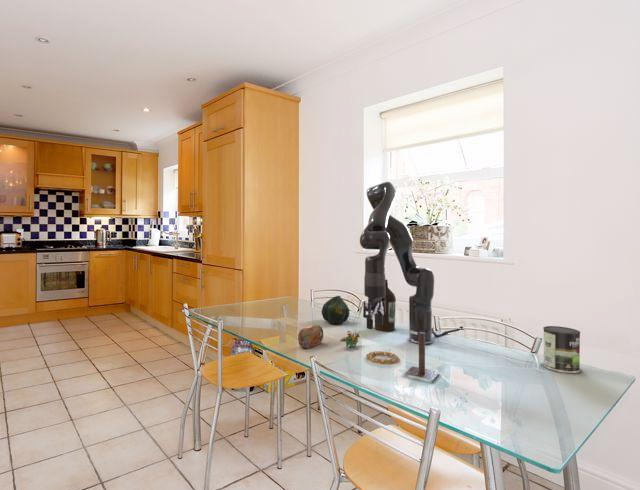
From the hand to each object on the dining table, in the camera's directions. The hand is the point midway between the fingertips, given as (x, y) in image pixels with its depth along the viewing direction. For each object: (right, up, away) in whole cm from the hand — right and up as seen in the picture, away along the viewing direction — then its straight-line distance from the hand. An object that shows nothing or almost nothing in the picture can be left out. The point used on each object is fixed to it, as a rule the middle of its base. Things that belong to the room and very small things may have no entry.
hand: (374, 326), depth 147 cm
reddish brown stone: (-20, -14, +25) cm, 35 cm away
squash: (+1, -13, +65) cm, 66 cm away
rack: (+12, -15, -11) cm, 22 cm away
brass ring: (+4, -13, +4) cm, 14 cm away
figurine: (-4, -14, +19) cm, 24 cm away
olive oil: (+22, -13, +50) cm, 56 cm away
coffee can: (+65, -14, -6) cm, 67 cm away
